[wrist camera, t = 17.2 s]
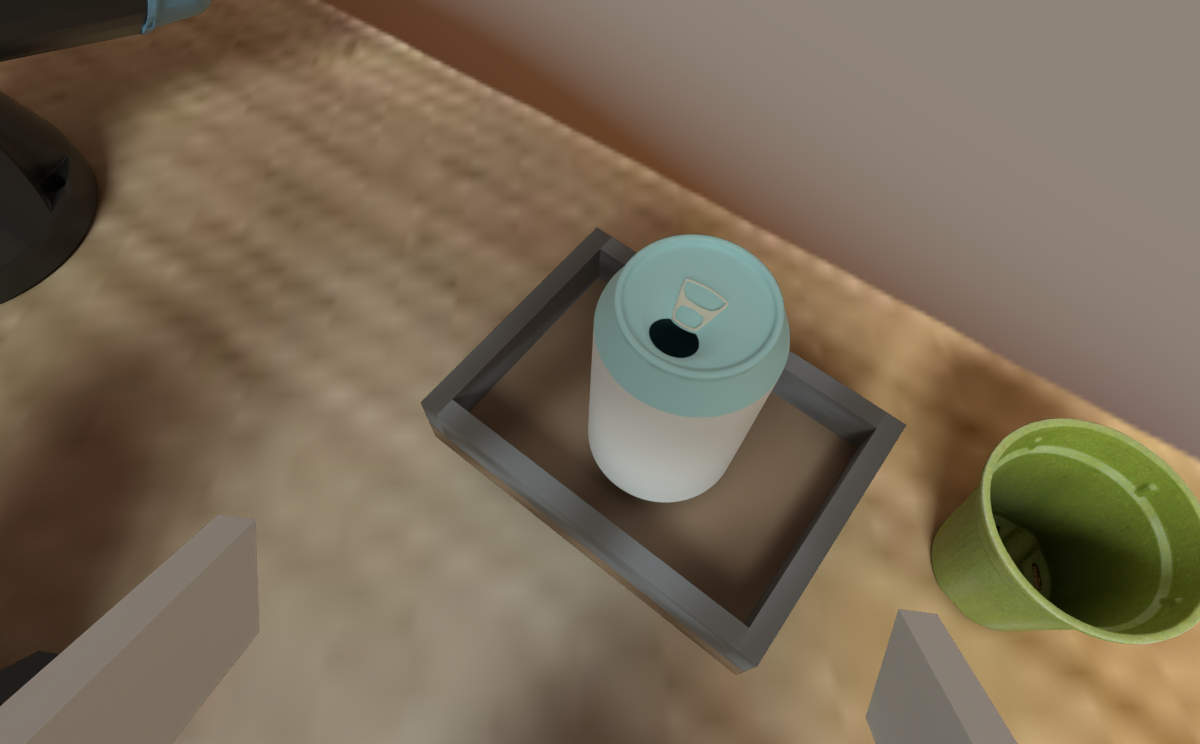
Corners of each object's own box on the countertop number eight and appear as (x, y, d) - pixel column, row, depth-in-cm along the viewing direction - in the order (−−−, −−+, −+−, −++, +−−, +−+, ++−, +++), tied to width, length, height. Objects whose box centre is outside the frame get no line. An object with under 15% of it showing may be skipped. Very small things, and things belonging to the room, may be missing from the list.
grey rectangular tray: (445, 457, 38) (420, 402, 32) (592, 301, 43) (596, 227, 37) (722, 680, 34) (757, 666, 27) (852, 475, 39) (906, 424, 32)
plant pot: (891, 470, 39) (970, 403, 31) (1064, 493, 39) (1186, 432, 31) (903, 650, 34) (999, 624, 27) (1098, 678, 34) (1250, 660, 27)
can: (740, 504, 33) (822, 391, 22) (590, 509, 33) (599, 396, 22) (722, 371, 36) (786, 217, 26) (585, 373, 36) (591, 218, 25)
